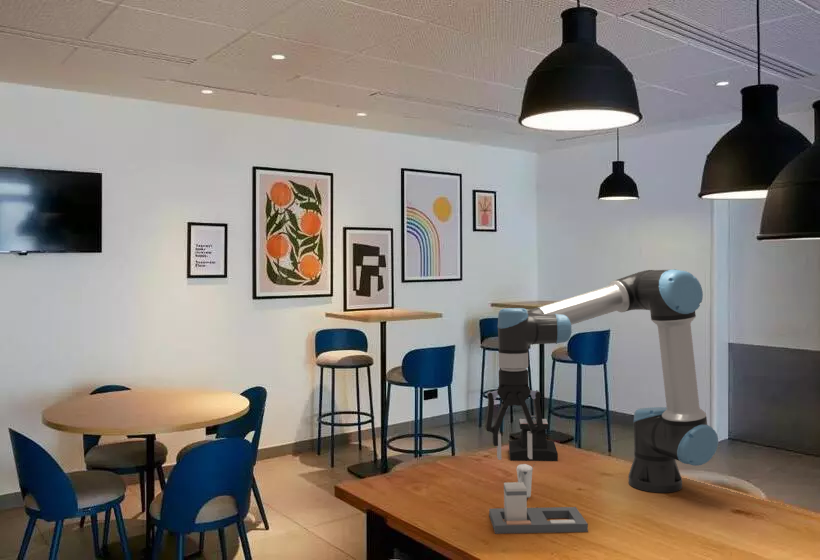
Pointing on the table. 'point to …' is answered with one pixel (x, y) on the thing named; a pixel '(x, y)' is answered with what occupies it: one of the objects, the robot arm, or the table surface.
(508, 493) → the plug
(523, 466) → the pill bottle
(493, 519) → the socket block
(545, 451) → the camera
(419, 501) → the table surface
